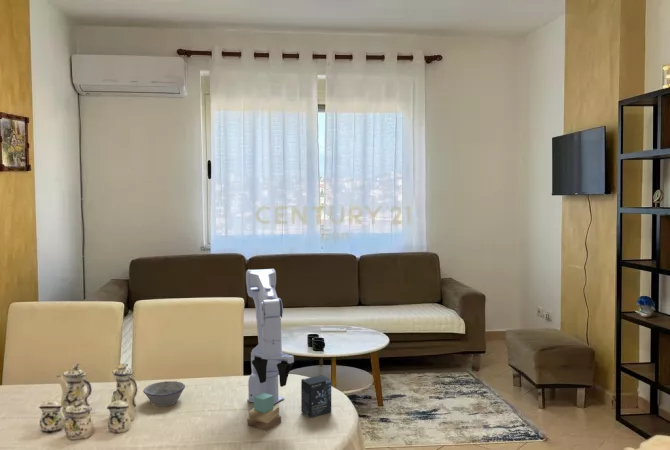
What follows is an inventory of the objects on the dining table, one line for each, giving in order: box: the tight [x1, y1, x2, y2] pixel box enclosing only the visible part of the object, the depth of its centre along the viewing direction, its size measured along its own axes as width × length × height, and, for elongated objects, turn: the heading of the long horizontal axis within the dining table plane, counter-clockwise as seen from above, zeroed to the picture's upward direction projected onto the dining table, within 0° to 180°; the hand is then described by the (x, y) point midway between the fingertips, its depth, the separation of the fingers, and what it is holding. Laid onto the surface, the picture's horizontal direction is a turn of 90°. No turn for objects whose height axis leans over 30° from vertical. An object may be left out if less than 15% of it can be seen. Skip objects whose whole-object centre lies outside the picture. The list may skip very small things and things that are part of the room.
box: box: [300, 374, 332, 418], centre depth 178 cm, size 8×6×11 cm
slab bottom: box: [246, 414, 282, 432], centre depth 170 cm, size 7×7×2 cm
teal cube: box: [253, 393, 275, 413], centre depth 169 cm, size 4×4×4 cm
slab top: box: [248, 405, 280, 423], centre depth 170 cm, size 6×6×2 cm
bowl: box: [142, 380, 186, 407], centre depth 188 cm, size 13×13×5 cm
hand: (272, 384), depth 174 cm, fingers open, 7 cm apart
